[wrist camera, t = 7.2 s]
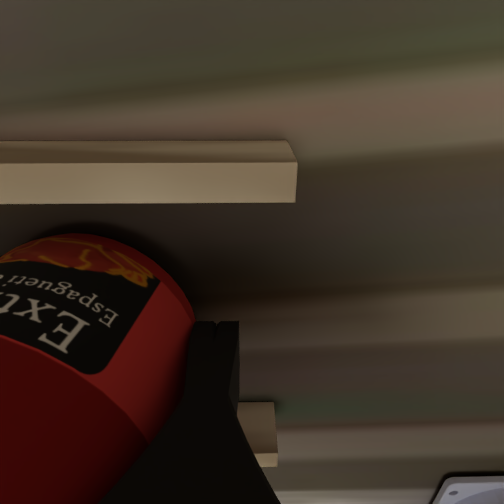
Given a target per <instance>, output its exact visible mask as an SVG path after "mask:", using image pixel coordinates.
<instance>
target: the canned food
mask: <svg viewBox="0 0 504 504" xmlns="http://www.w3.org/2000/svg"><path fill="white" fill-rule="evenodd" d="M194 322H196V319H195V316H194V313H193V310H192V307H191V305H190V303H189V301H188V300H187V298H186V296H185V294H184V293H183V291H182V290H181V288H180V287H179V286H178V285H177V283H176V282H175V281H174V280H173V279H172V277H171V276H170V275H169V274H168V273H167V272H166V271H164V270H163V269H162V268H161V267H160V266H159V265H158V264H156V263H155V262H154V261H153V260H151V259H150V258H148V257H147V256H145V255H144V254H142V253H140V252H139V251H137V250H136V249H134V248H132V247H129V246H127V245H125V244H122V243H120V242H118V241H115V240H113V239H109V238H105V237H101V236H97V235H93V234H80V233H68V234H61V235H54V236H49V237H45V238H41V239H37V240H33V241H30V242H27V243H25V244H23V245H20V246H18V247H15V248H14V249H12V250H10V251H9V252H7V253H6V254H4V255H3V256H1V257H0V504H97V503H98V502H99V501H100V500H101V499H102V498H103V497H104V496H105V495H106V494H107V493H108V492H109V491H110V490H111V489H112V488H113V487H114V485H115V484H116V483H117V482H118V481H119V480H120V479H121V477H122V476H123V475H124V474H125V473H126V472H127V470H128V469H129V468H130V467H131V466H132V465H133V464H134V462H135V461H136V460H137V459H138V458H139V457H140V455H141V454H142V453H143V452H144V450H145V449H146V448H147V447H148V445H149V444H150V443H151V442H152V440H153V439H154V438H155V436H156V435H157V434H158V432H159V431H160V430H161V428H162V427H163V426H164V424H165V423H166V421H167V420H168V418H169V417H170V416H171V414H172V413H173V411H174V410H175V408H176V407H177V405H178V404H179V402H180V400H181V399H182V397H183V394H184V388H185V378H186V368H187V359H188V349H189V340H190V335H191V331H192V328H193V325H194Z"/></svg>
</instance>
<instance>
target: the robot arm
mask: <svg viewBox="0 0 504 504" xmlns="http://www.w3.org/2000/svg"><path fill="white" fill-rule="evenodd" d="M239 368H240V361H239V321H221V322H219V323H218V324H217V326H216V323H214V322H213V321H196V322H194V325H193V328H192V331H191V335H190V340H189V349H188V359H187V368H186V378H185V388H184V394H183V397H182V399H181V400H180V402H179V404H178V405H177V407H176V408H175V410H174V411H173V413H172V414H171V416H170V417H169V418H168V420H167V421H166V423H165V424H164V426H163V427H162V428H161V430H160V431H159V432H158V434H157V435H156V436H155V438H154V439H153V440H152V442H151V443H150V444H149V445H148V447H147V448H146V449H145V450H144V452H143V453H142V454H141V455H140V457H139V458H138V459H137V460H136V461H135V462H134V464H133V465H132V466H131V467H130V468H129V469H128V470H127V472H126V473H125V474H124V475H123V476H122V477H121V479H120V480H119V481H118V482H117V483H116V484H115V485H114V487H113V488H112V489H111V490H110V491H109V492H108V493H107V494H106V495H105V496H104V497H103V498H102V499H101V500H100V501H99V502H98V503H97V504H281V503H280V502H279V500H278V498H277V496H276V495H275V493H274V491H273V489H272V488H271V486H270V484H269V482H268V480H267V478H266V477H265V475H264V473H263V471H262V469H261V467H260V465H259V463H258V461H257V459H256V457H255V455H254V453H253V451H252V449H251V447H250V445H249V443H248V441H247V438H246V436H245V434H244V432H243V429H242V427H241V425H240V422H239V420H238V417H237V410H238V400H239ZM433 504H504V476H471V477H451V478H448V479H446V480H445V482H444V483H443V485H442V487H441V489H440V491H439V493H438V495H437V496H436V498H435V500H434V502H433Z"/></svg>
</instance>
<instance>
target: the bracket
mask: <svg viewBox="0 0 504 504" xmlns="http://www.w3.org/2000/svg"><path fill="white" fill-rule="evenodd" d="M297 166H298V162H297V160H296V158H295V156H294V154H293V152H292V150H291V148H290V146H289V144H288V141H287V140H242V141H0V204H98V203H276V202H295V196H296V181H297ZM237 417H238V420H239V422H240V425H241V427H242V429H243V432H244V434H245V436H246V438H247V441H248V443H249V445H250V447H251V449H252V451H253V453H254V455H255V457H256V459H257V461H258V463H259V465H260V467H277V460H278V448H277V436H276V424H275V411H274V402H238V410H237Z"/></svg>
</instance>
